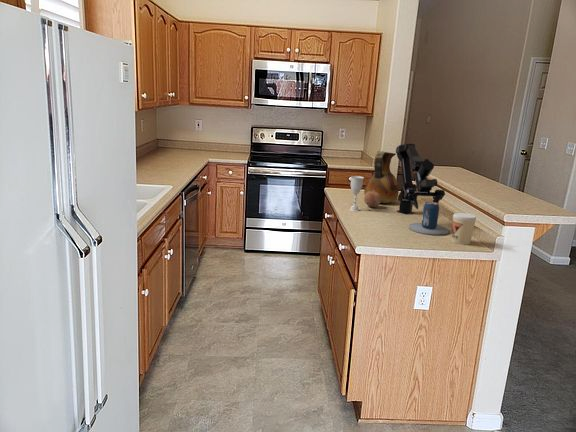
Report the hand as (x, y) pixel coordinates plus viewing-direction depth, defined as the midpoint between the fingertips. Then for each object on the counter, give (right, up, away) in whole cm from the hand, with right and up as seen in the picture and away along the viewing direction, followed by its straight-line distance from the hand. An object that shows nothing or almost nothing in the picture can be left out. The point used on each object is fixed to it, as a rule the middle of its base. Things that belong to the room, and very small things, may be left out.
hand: (427, 209), depth 220 cm
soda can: (0, -9, -3) cm, 9 cm away
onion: (-19, +1, +38) cm, 43 cm away
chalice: (-30, 0, +30) cm, 43 cm away
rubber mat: (0, -10, -3) cm, 10 cm away
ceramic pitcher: (-11, +5, +54) cm, 56 cm away
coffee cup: (+9, -15, -19) cm, 26 cm away
